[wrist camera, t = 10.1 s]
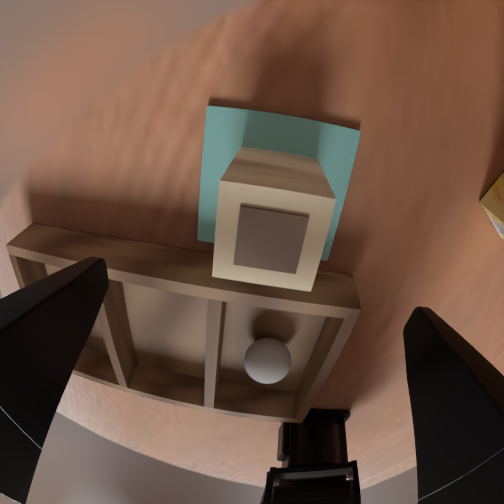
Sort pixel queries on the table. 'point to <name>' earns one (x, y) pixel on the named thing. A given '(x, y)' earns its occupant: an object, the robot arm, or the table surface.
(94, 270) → the robot arm
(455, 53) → the table surface
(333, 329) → the caddy
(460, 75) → the table surface
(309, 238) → the block with dark square
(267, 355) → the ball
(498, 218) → the candy box
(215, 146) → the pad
